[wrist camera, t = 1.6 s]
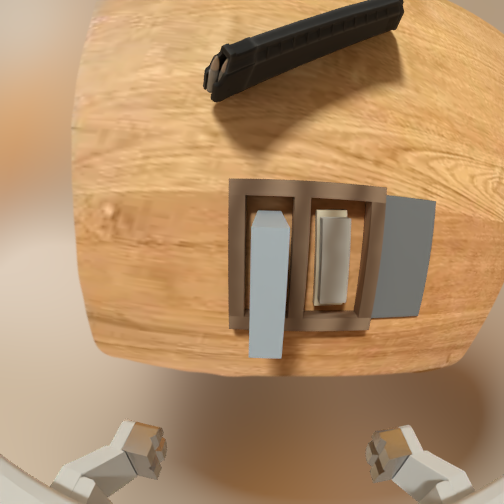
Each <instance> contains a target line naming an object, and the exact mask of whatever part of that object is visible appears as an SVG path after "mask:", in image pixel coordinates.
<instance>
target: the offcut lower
mask: <svg viewBox="0 0 504 504" xmlns="http://www.w3.org/2000/svg"><path fill="white" fill-rule="evenodd" d="M320 217H347V210H344V209H315V259H314V286H313V304H314V306H320V305H342V303H327V304H320V303H319V301H318V299H317V293H318V272H319V241H320Z"/></svg>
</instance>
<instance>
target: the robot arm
mask: <svg viewBox="0 0 504 504" xmlns="http://www.w3.org/2000/svg"><path fill="white" fill-rule="evenodd" d="M162 436H163V429H162V428H160V427H156V426H151V425H147V424H143V423H139V422H136V421H132V420H128V419H125V420H124V421H123V422H122V424H121V425H120V427H119V429H118V431H117V433H116V434H115V436H114V438H113V440H112V442H111V444H110V445H109V446H104V447H102V448H100V449H98V450H96V451H94V452H91V453H89V454H87V455H85V456H83V457H81V458H79V459H77V460H75V461H72V462H70V463H68V464H66V465H63V467H62V468H61V470H60V471H59V473H58V474H57V476H56V478H55V479H54V481H53V483H52V484H51V486H50V487H49V486H47V485H46V484H44V483H42V482H41V481H39V480H37V479H36V478H34V477H33V476H31V475H30V474H28V473H26V472H25V471H23V470H22V469H20V468H19V467H18V466H16V465H15V464H13V463H12V462H10V461H9V460H8V459H6V458H5V457H4V456H3V455H1V454H0V504H113V503H112V502H111V501H110V500H109V499H108V497H109V496H110V495H112V494H113V493H115V492H116V491H118V490H119V489H121V488H122V487H123V486H125V485H126V484H128V483H129V482H130V481H132V480H133V479H134V478H136V477H137V475H139V476H143V477H147V478H151V479H156V480H158V477H159V474H160V471H161V468H162V467H161V465H160V462H162V461H163V460H164V459H165V456H166V452H167V443H166V440H165V439H164V438H163V437H162ZM372 439H373V440H372V441H371V442H370V443H368V446H367V448H366V460H367V463H368V464H369V465H371V466H372V468H371V470H370V473H371V476H372V480H373V483H376V482H381V481H386V480H390V479H392V481H394V482H395V483H396V484H397V485H398V486H400V487H401V488H402V489H403V490H404V491H405V492H407V493H408V494H409V495H410V496H412V497H413V498H414V499H415V500H416V501H418V502H419V503H418V504H504V474H503V475H502V476H500V477H499V478H497V479H495V480H494V481H492V482H491V483H489V484H487V485H486V486H484V487H482V488H480V489H479V490H477V491H475V490H474V488H473V486H472V484H471V483H470V481H469V479H468V477H467V475H466V473H465V471H463V470H461V469H459V468H457V467H455V466H453V465H452V464H450V463H448V462H446V461H444V460H443V459H441V458H439V457H437V456H435V455H433V454H432V453H430V452H428V451H423V449H422V448H421V445H420V443H419V441H418V439H417V437H416V435H415V433H414V431H413V430H412V428H411V426H410V425H405V426H400V427H394V428H389V429H384V430H379V431H375V432H374V433H373V435H372Z"/></svg>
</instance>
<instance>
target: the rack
mask: <svg viewBox="0 0 504 504" xmlns="http://www.w3.org/2000/svg"><path fill="white" fill-rule="evenodd" d="M386 194H387V188H385V187H376V186H366V185H355V184H344V183H331V182H316V181H298V180H274V179H229V221H228V285H229V329H244V330H249V322H250V309H245V270H246V207H247V195H257V196H288V197H293V214H292V237H291V256H290V274H289V289H288V304H287V310H285V320H284V331H355V330H369V326H370V321H371V316H372V311H373V305H374V300H375V294H376V288H377V282H378V275H379V268H380V260H381V252H382V244H383V234H384V223H385V210H386ZM311 198H327V199H342V200H356V201H366V205H365V220H364V233H363V243H362V253H361V262H360V270H359V278H358V285H357V292H356V299H355V305H354V311H304V301H305V290H306V278H307V265H308V250H309V234H310V216H311Z"/></svg>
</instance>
